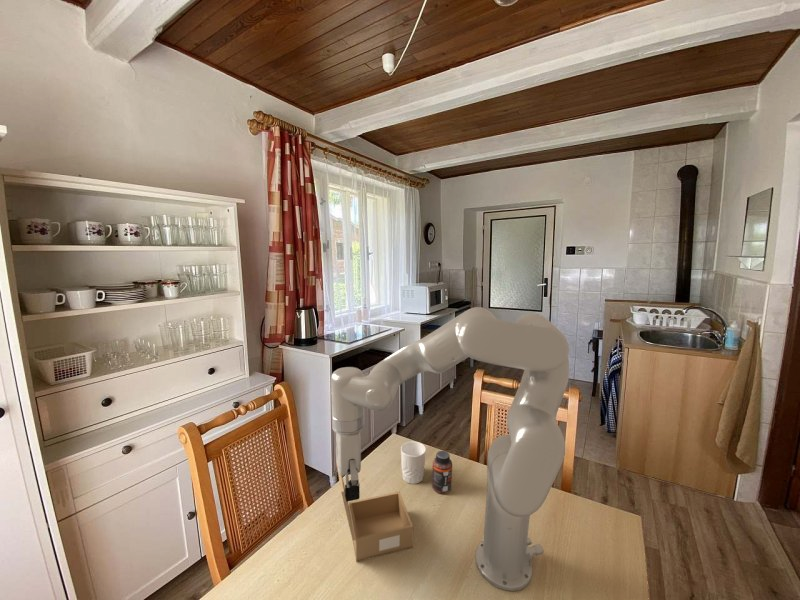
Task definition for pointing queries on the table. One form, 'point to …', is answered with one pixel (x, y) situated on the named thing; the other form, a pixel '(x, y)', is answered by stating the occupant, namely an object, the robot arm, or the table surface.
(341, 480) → the cardboard box lid
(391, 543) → the carton
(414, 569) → the table surface
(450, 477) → the supplement bottle
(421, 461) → the white cup
